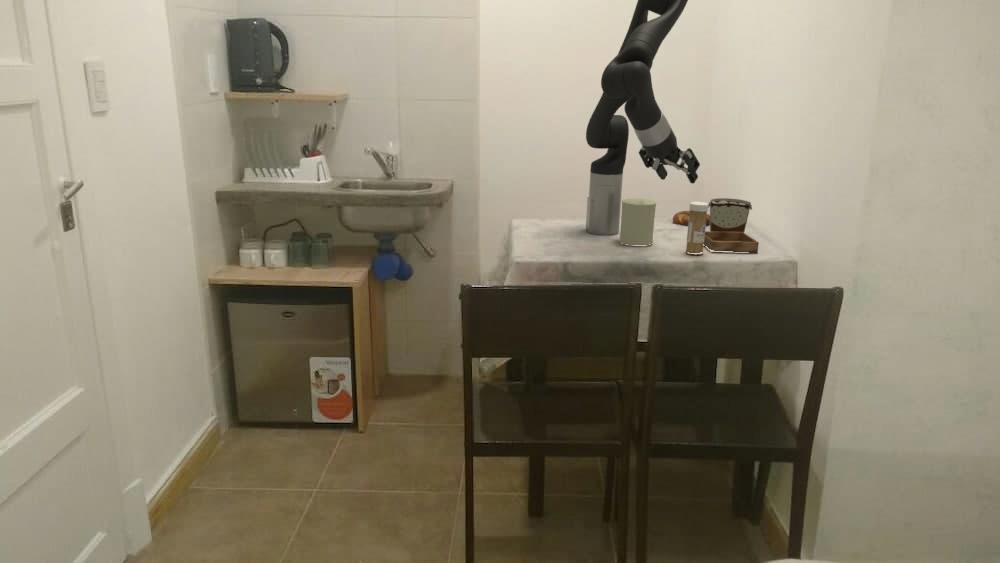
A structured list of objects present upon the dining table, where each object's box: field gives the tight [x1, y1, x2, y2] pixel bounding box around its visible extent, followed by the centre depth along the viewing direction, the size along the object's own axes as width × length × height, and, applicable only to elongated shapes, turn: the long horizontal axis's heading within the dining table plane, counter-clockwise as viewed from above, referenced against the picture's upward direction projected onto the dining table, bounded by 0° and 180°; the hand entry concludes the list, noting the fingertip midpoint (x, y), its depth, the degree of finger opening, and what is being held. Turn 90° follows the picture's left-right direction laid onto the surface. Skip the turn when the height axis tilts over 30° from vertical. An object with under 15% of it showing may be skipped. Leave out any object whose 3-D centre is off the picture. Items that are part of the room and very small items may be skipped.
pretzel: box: [672, 210, 710, 227], centre depth 227 cm, size 12×11×4 cm
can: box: [618, 198, 657, 245], centre depth 199 cm, size 9×9×12 cm
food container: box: [708, 197, 753, 233], centre depth 213 cm, size 12×6×10 cm, turn 84°
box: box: [704, 230, 760, 254], centre depth 198 cm, size 12×12×3 cm
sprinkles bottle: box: [685, 201, 709, 253], centre depth 189 cm, size 5×5×13 cm
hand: (679, 178), depth 179 cm, fingers open, 8 cm apart
